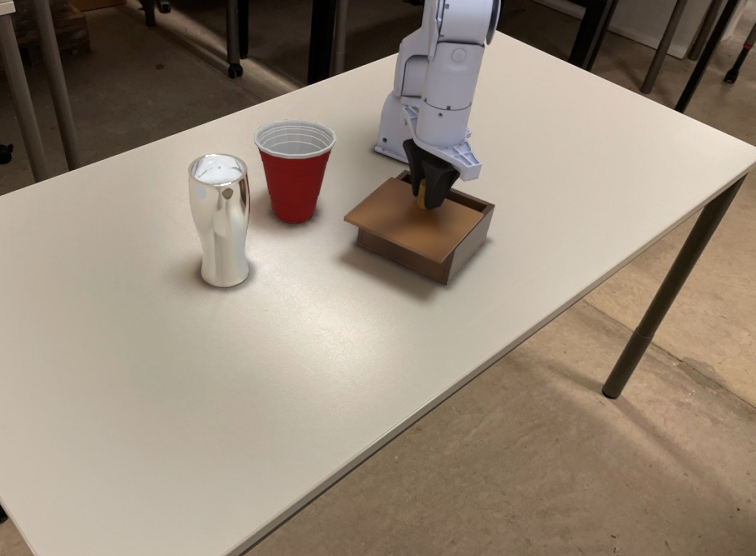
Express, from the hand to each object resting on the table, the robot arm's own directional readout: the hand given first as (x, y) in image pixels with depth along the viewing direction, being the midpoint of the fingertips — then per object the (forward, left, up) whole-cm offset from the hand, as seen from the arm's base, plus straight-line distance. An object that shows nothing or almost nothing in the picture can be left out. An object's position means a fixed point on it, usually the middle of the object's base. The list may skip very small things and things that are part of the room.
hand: (426, 200), depth 84 cm
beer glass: (-17, -20, -8) cm, 27 cm away
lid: (0, -3, -1) cm, 3 cm away
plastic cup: (-18, -4, -8) cm, 20 cm away
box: (0, +1, -7) cm, 7 cm away
